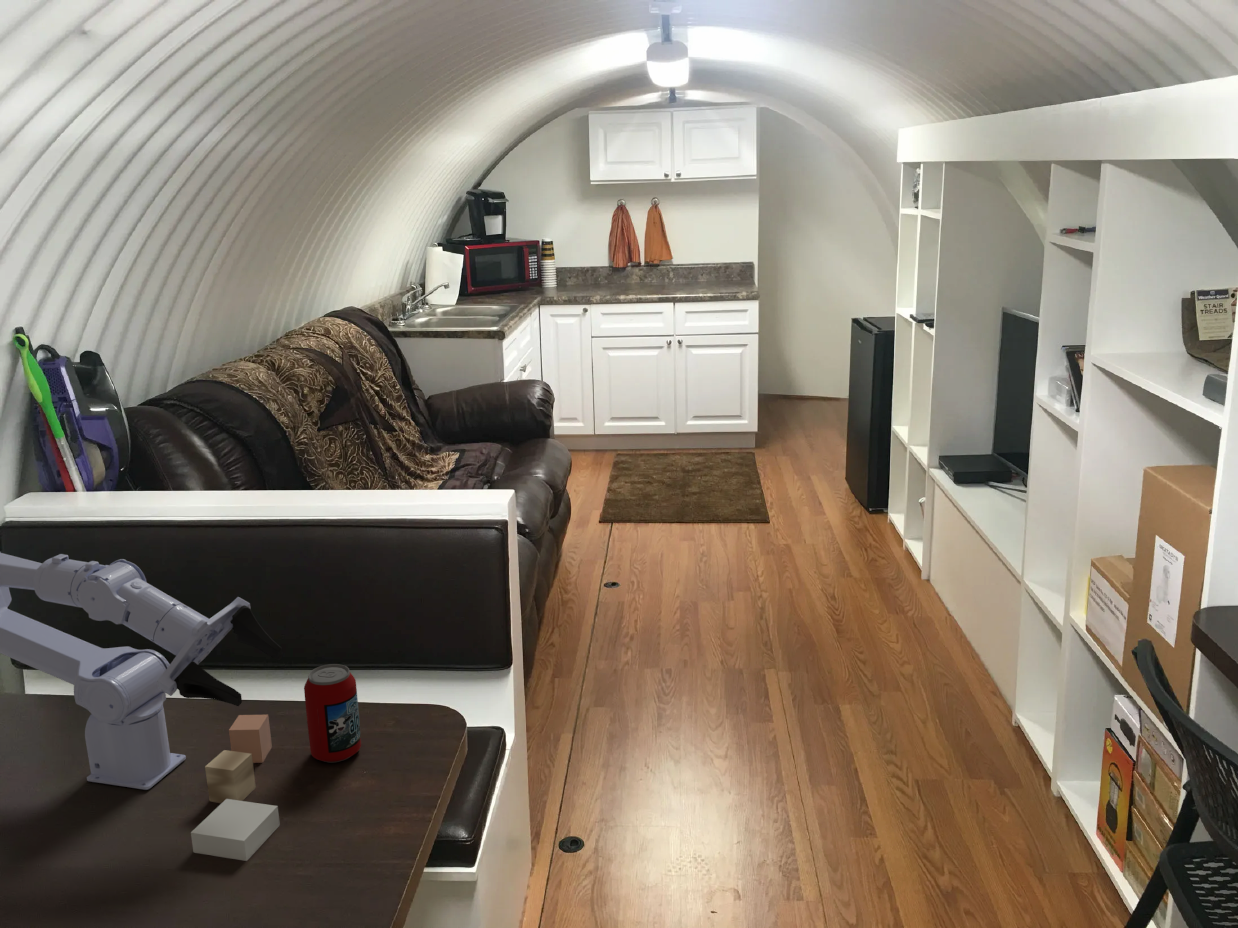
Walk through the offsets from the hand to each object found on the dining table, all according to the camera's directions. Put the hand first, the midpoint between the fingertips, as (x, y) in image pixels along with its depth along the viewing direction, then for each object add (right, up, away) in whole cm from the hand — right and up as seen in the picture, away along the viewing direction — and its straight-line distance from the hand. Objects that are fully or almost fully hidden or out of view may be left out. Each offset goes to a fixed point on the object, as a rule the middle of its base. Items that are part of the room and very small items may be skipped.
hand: (260, 676), depth 128 cm
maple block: (-5, -16, +5) cm, 17 cm away
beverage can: (+6, -13, +14) cm, 20 cm away
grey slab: (-1, -19, -4) cm, 19 cm away
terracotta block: (-6, -13, +14) cm, 20 cm away
